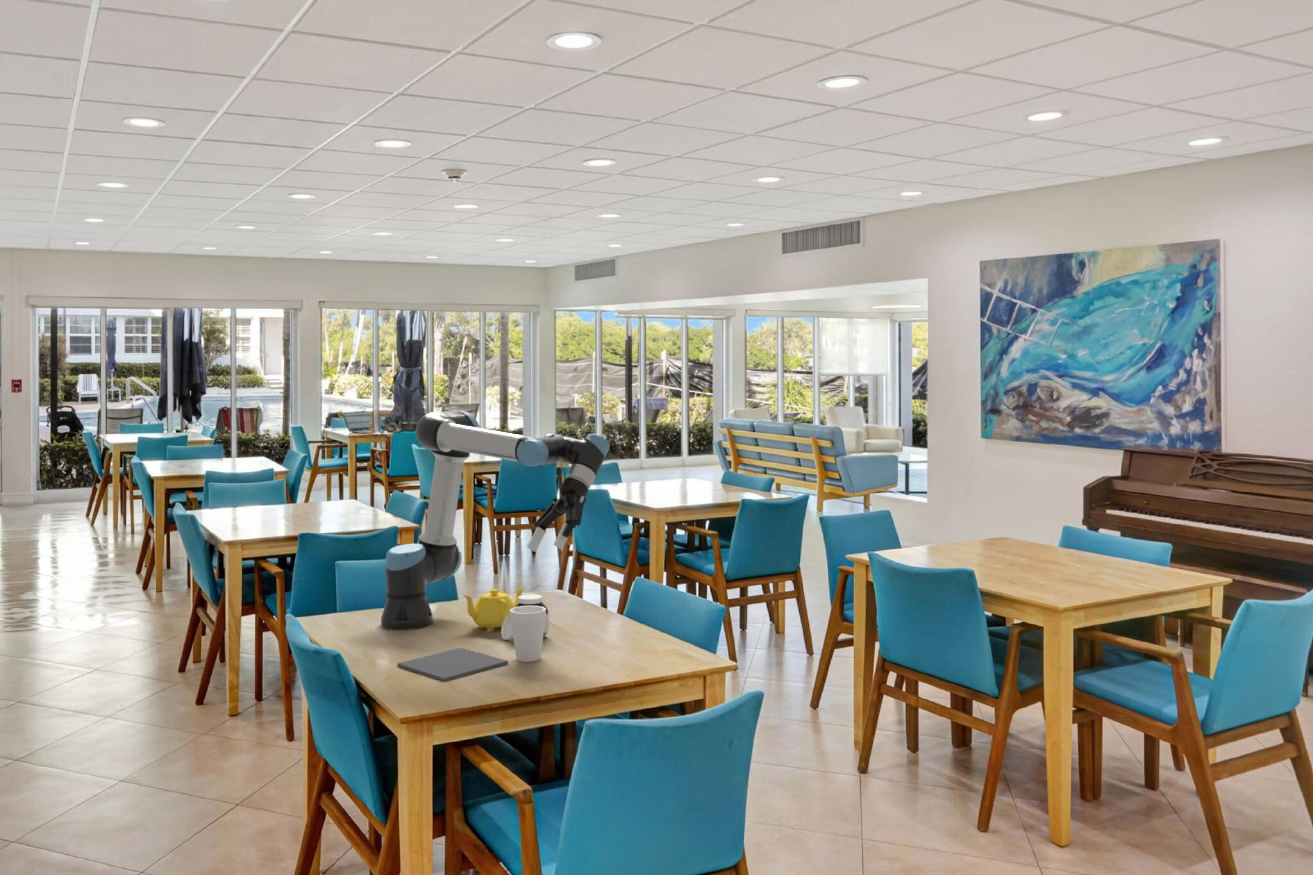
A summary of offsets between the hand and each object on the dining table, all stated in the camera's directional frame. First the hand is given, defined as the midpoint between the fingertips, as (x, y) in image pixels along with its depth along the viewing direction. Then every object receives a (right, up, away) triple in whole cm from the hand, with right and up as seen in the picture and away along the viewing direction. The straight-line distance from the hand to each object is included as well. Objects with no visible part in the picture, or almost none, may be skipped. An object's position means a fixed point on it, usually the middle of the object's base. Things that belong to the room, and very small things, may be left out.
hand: (544, 548), depth 279 cm
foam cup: (-3, -28, -9) cm, 30 cm away
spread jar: (-7, -27, +12) cm, 30 cm away
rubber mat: (-22, -29, -15) cm, 39 cm away
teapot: (-17, -26, +24) cm, 39 cm away
